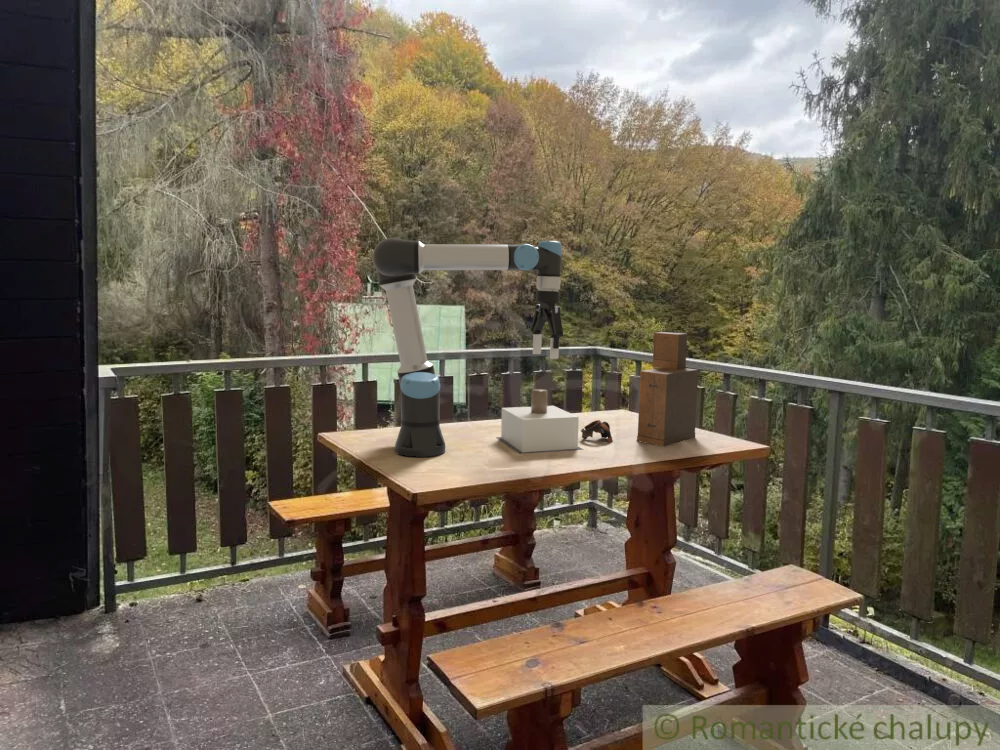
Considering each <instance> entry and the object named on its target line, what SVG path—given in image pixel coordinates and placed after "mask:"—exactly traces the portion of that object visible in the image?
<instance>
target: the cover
mask: <svg viewBox="0 0 1000 750" xmlns="http://www.w3.org/2000/svg"><path fill="white" fill-rule="evenodd" d="M530 396H531V403H530V406H515V407H501V421H500V422H501V425H500V427H501V431H500V433H501V436H500V437H501V438H502V439H503V440H505V441H506V442H508V443H509V444H511V445H512V446H514V447H515V448H517V449H518V450H520V451H521V452H535V451H550V450H566V449H578V447H579V416H577V415H575V414H573V413H571V412H569V411H567V410H564V409H562V408H559V407H558V406H555V405H548V390H547V389H541V388H540V389H539V388H536V389H531V395H530Z"/></svg>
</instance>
